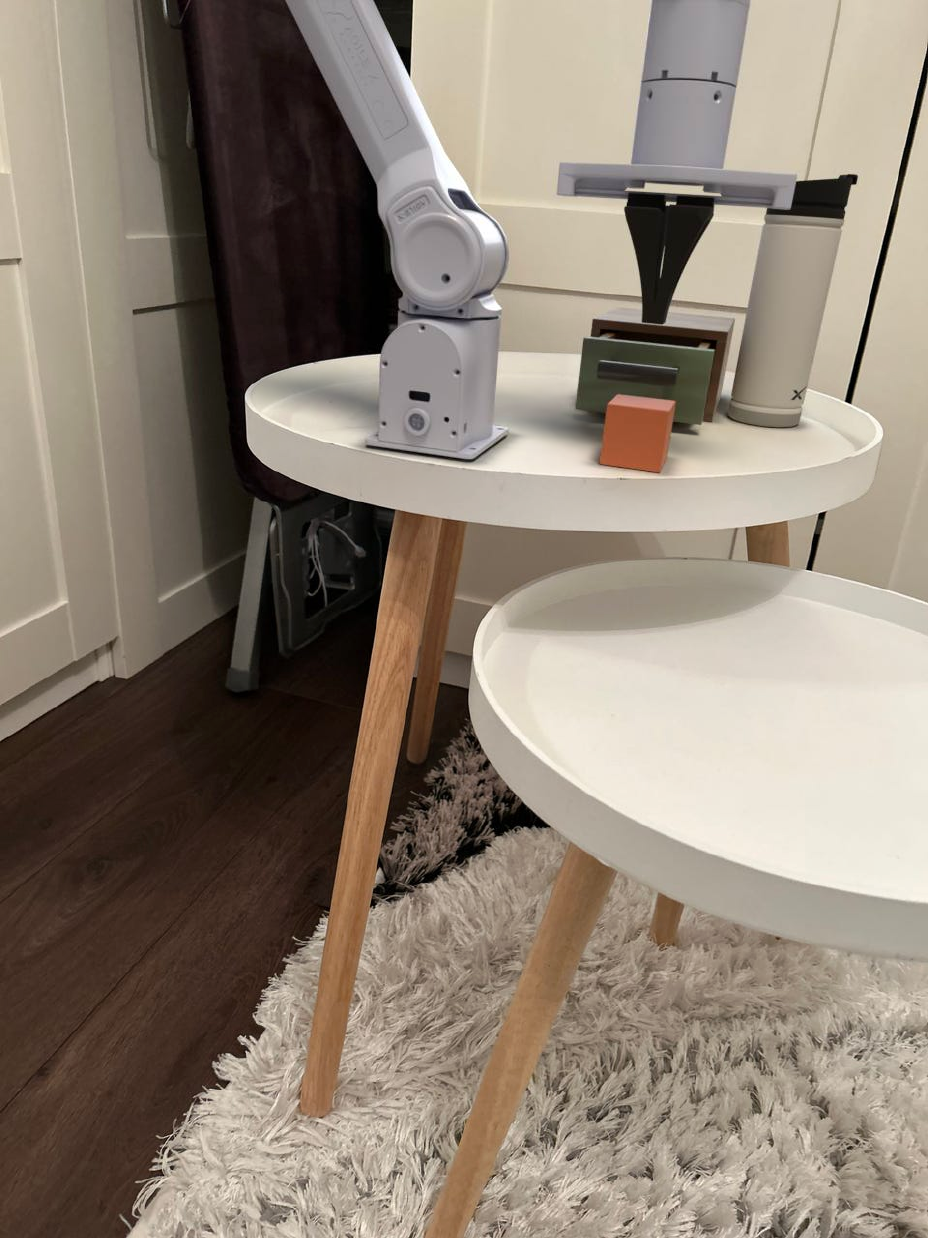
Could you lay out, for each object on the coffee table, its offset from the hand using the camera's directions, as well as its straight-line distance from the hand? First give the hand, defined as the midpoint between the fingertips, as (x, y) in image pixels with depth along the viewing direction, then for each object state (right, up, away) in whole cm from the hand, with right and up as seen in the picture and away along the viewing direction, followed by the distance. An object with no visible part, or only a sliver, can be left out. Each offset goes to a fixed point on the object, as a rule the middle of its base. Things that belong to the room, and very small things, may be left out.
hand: (653, 322), depth 59 cm
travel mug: (+14, -2, +21) cm, 25 cm away
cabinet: (+6, +1, +26) cm, 26 cm away
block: (-1, -9, +4) cm, 9 cm away
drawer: (+3, -2, +17) cm, 17 cm away
